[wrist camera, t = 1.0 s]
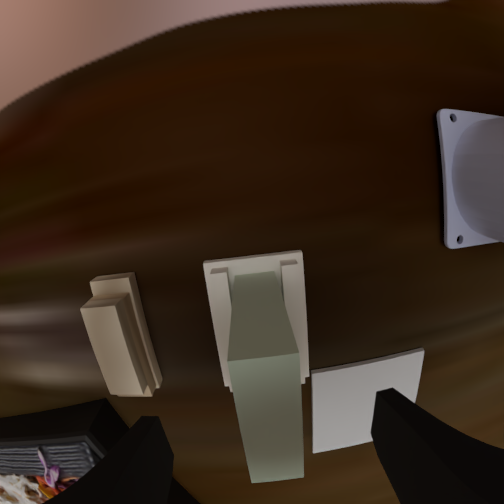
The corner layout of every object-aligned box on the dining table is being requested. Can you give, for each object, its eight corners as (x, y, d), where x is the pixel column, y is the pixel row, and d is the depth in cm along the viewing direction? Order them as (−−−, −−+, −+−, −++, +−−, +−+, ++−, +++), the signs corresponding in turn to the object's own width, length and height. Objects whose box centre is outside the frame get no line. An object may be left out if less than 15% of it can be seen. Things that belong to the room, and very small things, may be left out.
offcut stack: (135, 270, 17) (114, 291, 14) (163, 376, 19) (151, 409, 15) (98, 275, 17) (72, 295, 14) (129, 377, 19) (113, 408, 15)
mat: (421, 347, 18) (424, 350, 18) (406, 427, 20) (408, 430, 20) (311, 370, 18) (312, 374, 18) (312, 449, 20) (313, 453, 20)
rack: (300, 249, 17) (305, 256, 15) (307, 372, 18) (312, 386, 17) (204, 260, 17) (200, 268, 15) (225, 381, 18) (224, 396, 17)
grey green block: (274, 270, 16) (299, 352, 9) (283, 369, 18) (303, 477, 10) (234, 275, 16) (226, 361, 9) (248, 373, 18) (251, 483, 10)
